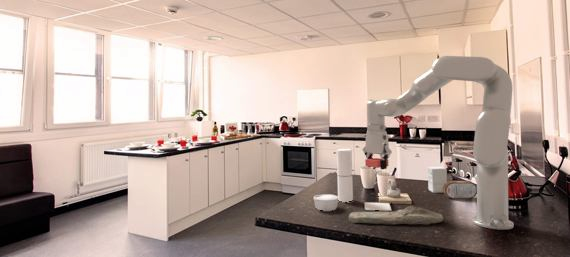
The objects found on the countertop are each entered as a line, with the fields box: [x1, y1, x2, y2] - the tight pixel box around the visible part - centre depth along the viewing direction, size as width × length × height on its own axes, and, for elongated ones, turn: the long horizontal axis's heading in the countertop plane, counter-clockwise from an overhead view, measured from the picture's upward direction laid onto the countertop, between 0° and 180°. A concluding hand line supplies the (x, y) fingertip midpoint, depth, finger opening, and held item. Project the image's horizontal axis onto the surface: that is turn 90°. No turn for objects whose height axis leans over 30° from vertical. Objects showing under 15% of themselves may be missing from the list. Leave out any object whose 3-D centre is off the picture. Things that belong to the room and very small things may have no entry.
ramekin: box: [313, 193, 339, 212], centre depth 141 cm, size 11×11×5 cm
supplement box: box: [427, 166, 448, 194], centre depth 165 cm, size 7×7×13 cm
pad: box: [364, 202, 392, 212], centre depth 140 cm, size 11×11×1 cm
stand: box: [377, 180, 413, 205], centre depth 151 cm, size 14×14×9 cm
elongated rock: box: [348, 205, 444, 226], centre depth 121 cm, size 35×5×10 cm
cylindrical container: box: [336, 148, 354, 203], centre depth 153 cm, size 7×7×25 cm
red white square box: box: [364, 157, 389, 169], centre depth 140 cm, size 7×7×3 cm
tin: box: [443, 180, 477, 200], centre depth 150 cm, size 15×3×8 cm, turn 84°
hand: (376, 167), depth 140 cm, fingers closed on red white square box, 7 cm apart
